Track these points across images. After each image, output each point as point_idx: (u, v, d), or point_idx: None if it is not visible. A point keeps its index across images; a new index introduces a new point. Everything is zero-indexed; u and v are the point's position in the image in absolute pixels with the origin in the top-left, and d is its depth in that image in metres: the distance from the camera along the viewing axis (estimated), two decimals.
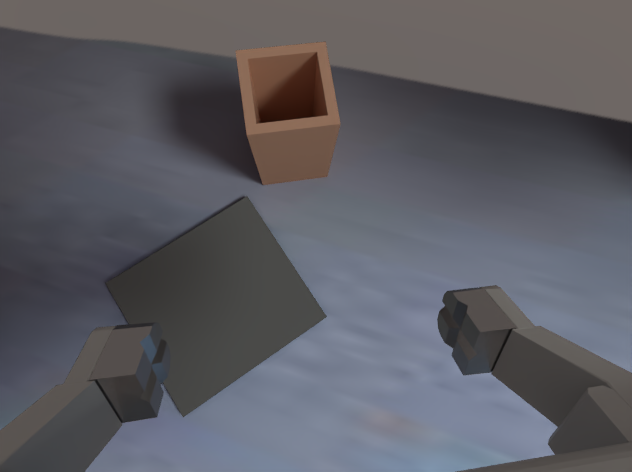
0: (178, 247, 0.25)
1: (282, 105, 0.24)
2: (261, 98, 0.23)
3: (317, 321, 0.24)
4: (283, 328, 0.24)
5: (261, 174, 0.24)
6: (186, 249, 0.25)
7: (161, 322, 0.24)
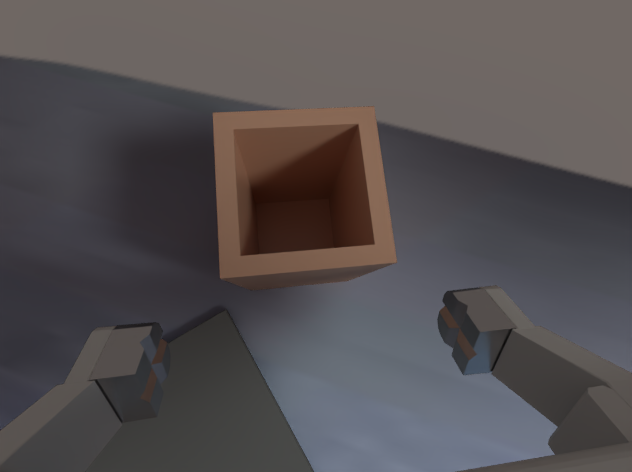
0: None
1: (287, 183, 0.16)
2: (256, 176, 0.14)
3: None
4: None
5: (248, 288, 0.15)
6: None
7: None
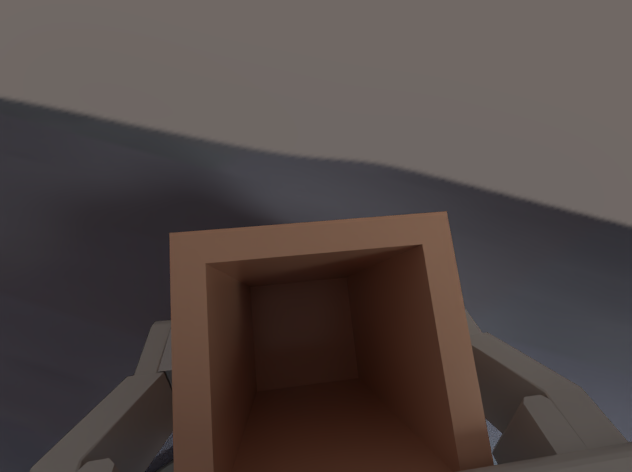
0: None
1: (294, 277, 0.11)
2: (249, 278, 0.10)
3: None
4: None
5: None
6: None
7: None
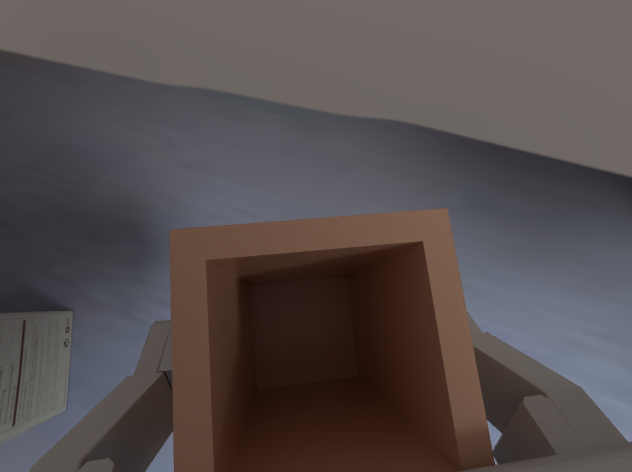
0: None
1: (294, 275, 0.11)
2: (249, 276, 0.10)
3: None
4: None
5: None
6: None
7: None
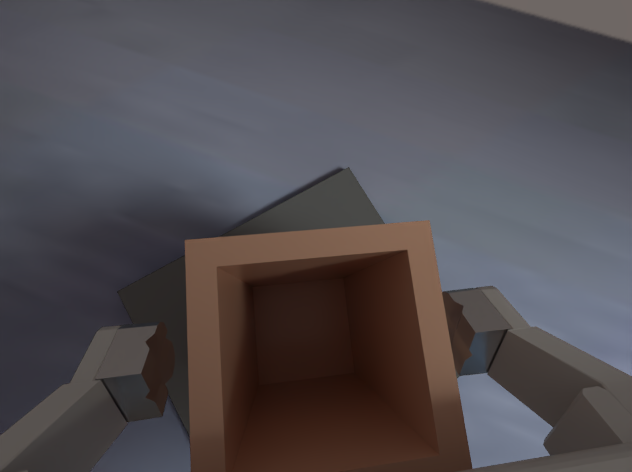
0: None
1: (294, 278, 0.12)
2: (252, 279, 0.11)
3: None
4: None
5: None
6: None
7: None
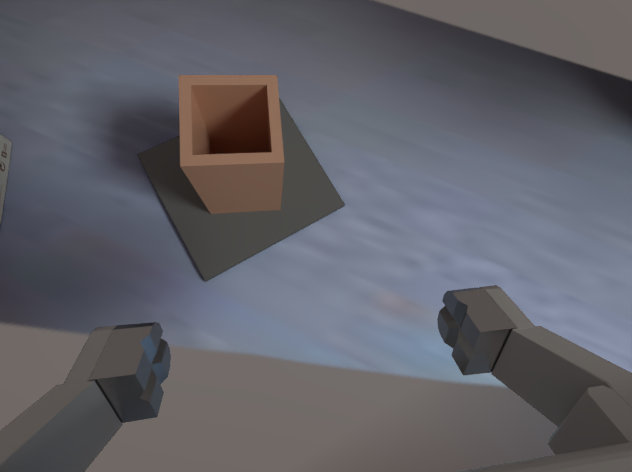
0: None
1: (234, 134, 0.23)
2: (211, 125, 0.22)
3: (336, 207, 0.26)
4: (304, 210, 0.26)
5: (206, 203, 0.22)
6: None
7: (189, 194, 0.25)
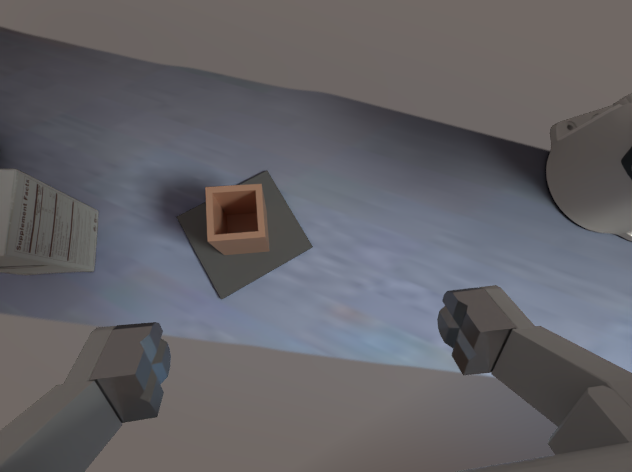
0: None
1: (238, 207, 0.36)
2: (223, 205, 0.35)
3: (306, 249, 0.39)
4: (285, 251, 0.39)
5: (221, 251, 0.36)
6: None
7: None
